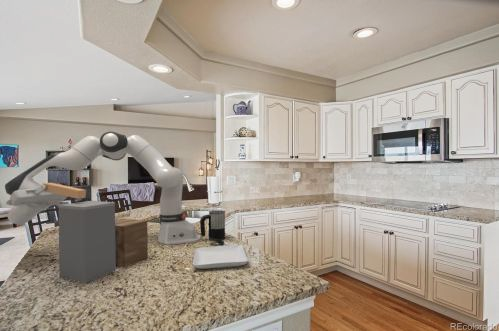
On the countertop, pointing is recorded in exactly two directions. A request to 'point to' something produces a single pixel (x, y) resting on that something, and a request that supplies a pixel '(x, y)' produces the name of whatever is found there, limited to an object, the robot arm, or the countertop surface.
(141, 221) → the wooden grain cube
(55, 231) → the countertop surface
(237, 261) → the salad plate
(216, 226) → the milk frother
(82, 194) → the orange bar
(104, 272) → the graphite cabinet
